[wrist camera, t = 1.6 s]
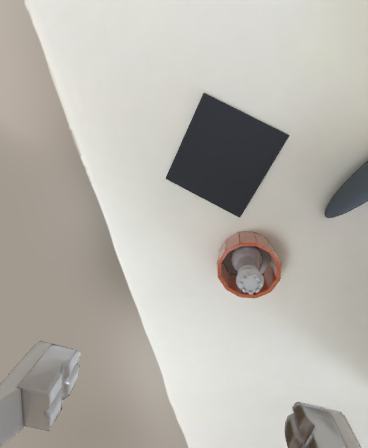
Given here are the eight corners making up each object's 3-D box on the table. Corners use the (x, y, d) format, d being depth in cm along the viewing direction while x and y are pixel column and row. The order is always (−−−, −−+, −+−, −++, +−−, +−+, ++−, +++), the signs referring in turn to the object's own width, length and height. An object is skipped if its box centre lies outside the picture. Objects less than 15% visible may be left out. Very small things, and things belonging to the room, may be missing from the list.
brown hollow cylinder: (285, 248, 32) (293, 261, 28) (255, 290, 35) (259, 307, 31) (235, 222, 33) (236, 231, 28) (210, 265, 35) (207, 279, 31)
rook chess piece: (233, 241, 33) (233, 264, 26) (264, 245, 33) (274, 271, 25) (229, 268, 35) (228, 297, 27) (258, 273, 34) (266, 305, 26)
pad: (288, 135, 28) (289, 135, 28) (239, 216, 32) (239, 217, 32) (204, 94, 29) (203, 92, 28) (166, 178, 33) (165, 178, 32)
